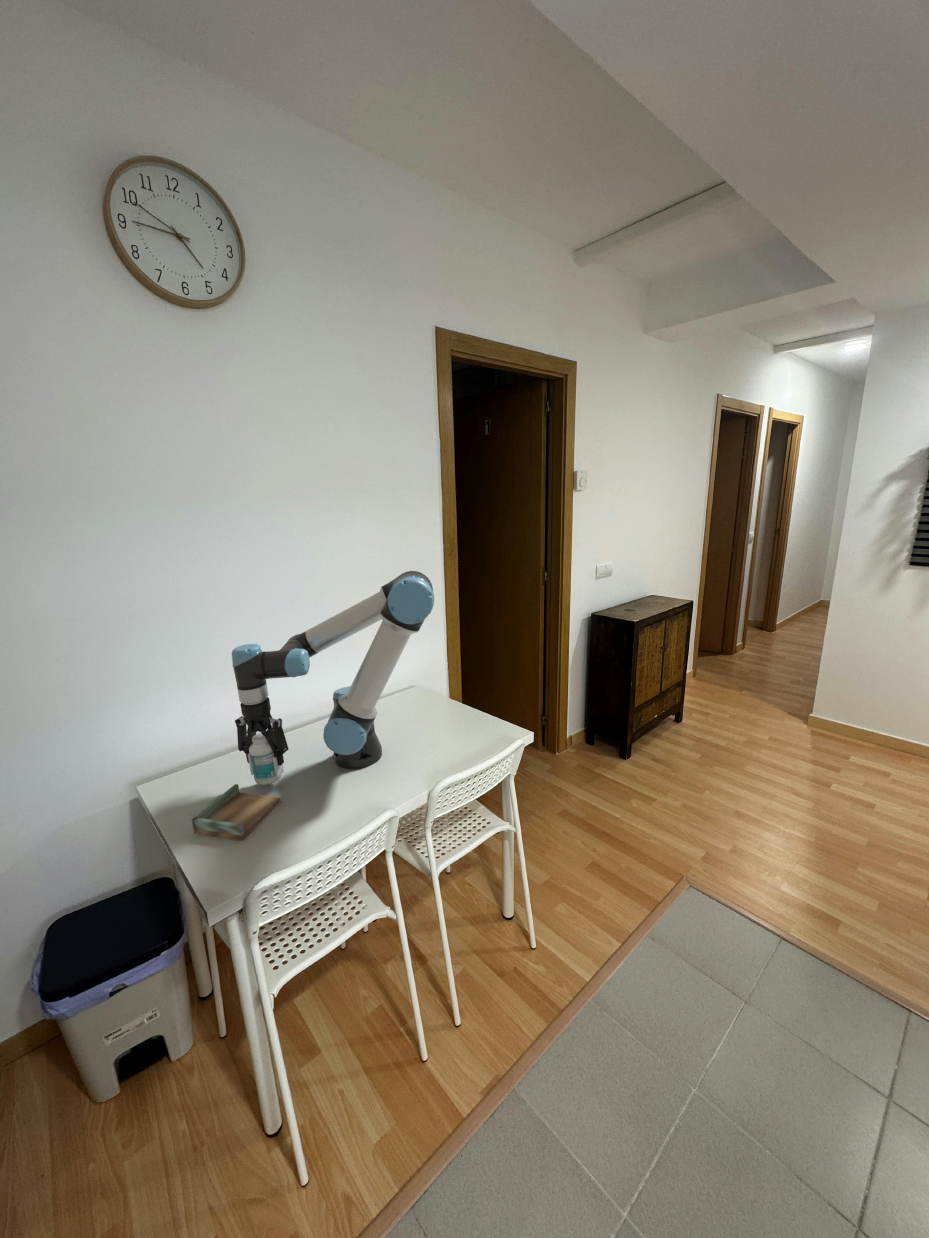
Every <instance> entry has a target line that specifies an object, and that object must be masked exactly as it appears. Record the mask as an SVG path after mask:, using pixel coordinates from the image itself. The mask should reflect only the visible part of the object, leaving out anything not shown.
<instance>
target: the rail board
mask: <svg viewBox="0 0 929 1238" xmlns="http://www.w3.org/2000/svg"><path fill="white" fill-rule="evenodd" d="M281 803H282V801H281V797H279V796H270V795H263V794H261V795H260V794H254V793H247V792H240V787H239V784H237V783H234V784H233V785H231V787H230V788H228V789H227V790H226V791H225V792H224V793H223V794H221V795H220V796H218V798H216V799H215V800H214V801H212V802H211V803H209V805H208V806H207V807H205V808H204V809H202V810H201V811H200V812H199V813H198V814H197V815H195V816H193V818H192V819H191V823H192V828H193V833H194V834H195V835H200V836H201V835H202V836H207V837H208V836H209V837H214V838H219V839H220V838H221V839H227V840H234V841H240V842H243V841H244V840H245V839H246V838H247V837H248V836H249V835H250V834H251V833H252V832H253V831H254V830H255V829H256V828H257V827H258V826H259V825H260V824H261V823H262V822H263V821H264V820H265V819H266V818H267V817H268V816H269V815H270V814H271V813H272V812H273V811H274V810H276V808H278V806H279V805H280V804H281Z"/></svg>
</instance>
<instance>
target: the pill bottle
mask: <svg viewBox="0 0 929 1238" xmlns="http://www.w3.org/2000/svg"><path fill="white" fill-rule="evenodd" d="M252 741H253V744H252V745H251V746H250V748H249V754H250V759H251V764H252V769H253V775H252V776H253V778H254V782H255V783H256V784H258V785H269V784H273V783H275V782H276V781H278V780H279V779H280V778H281V776H282V774H281V775H280V776H279V777H276V774H275V768H274V763H273V757H272V756H273V755H275V754H274V752H273V751H272V749H271V747H270V745H269V743H268V741H267V739H266V738H265V736H263V735H262V733H261V732H258V733H256V735H254V736H253V737H252Z"/></svg>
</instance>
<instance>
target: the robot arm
mask: <svg viewBox="0 0 929 1238" xmlns="http://www.w3.org/2000/svg"><path fill="white" fill-rule="evenodd" d="M434 605H435V594H434V589H433V584H432V582H431V580H430V578H429V577H428V576H426V574H424V573H422V572H420V571H417V570H409V571H405V572H402V573H401V574H399V575H397V576H396V577H395V578H394V579H392V580H390V581H389V582H387V583H386V584H384V585H382V586H380V590H379V591H378V592H377V593H375V594H373V595H370V596H369V597H367V598H365V599H363V600H361V601H359V602H357V603H355V604H354V605H351V606H350V607H348V608H346V609H344V610H342V611H341V612H340V611H339V613H337V614H335V615H333V616H331V617H329V618H327V619H326V620H324V621H322V622H321V623H318V624H317V625H315V626H313V627H311V628H309V629H307V630H305V631H303V632H301V633H298V634H294V635H292V636H291V637H289V639H288V640H287V641H286V643H285V644H284V645H283V646H282V647H281V648H280V649H278V650H271V651H267V650H266V651H263V650H262V648H261V646H260V645H259V644H257V643H247V644H241V645H239V646H236V647H235V648H233V649H232V651H231V658H232V659H231V661H232V668H233V672H234V677H235V682H236V687H237V695H238V699H239V702H240V711H241V715H240V717H238V718H236V719H235V720H234V723H235V725H236V731H237V732H236V733H237V734H236V735H237V749H238V751H239V752H244V754H245V757H246V762H247V764H248V765H249V770H250V775H252V776H254V775H253V769H252V764H251V759H250V754H249V748H250V746H251V745H252V744H253V741H252V737H253V736H254V735H256V734H257V732H258V733H262V735H263V736H265V738H266V739H267V741H268V743H269V745H270V747H271V749H272V751H273V752H274V754H275V755H273V756H272V757H273V763H274V768H275V774H276V777H279V776H280V775H281V776H282V774H284V773H285V771H284V765H283V764H284V763H285V760H284V759H285V758H284V754H285V753H286V752H288V751H289V745H288V742H287V739H286V735H285V732H284V730H283V719H282V718H278V719H276V718H273V716H272V713H271V711H272V709H271V701H270V697H269V689H268V685H267V684H268V683H267V680H268V679H269V680H270V679H282V678H297V677H303V676H306V675H307V674H308V673H309V671H310V666H311V665H310V658H311V657H313V656H315V655H317V654H319V653H320V652H322V651H324V650H326V649H329V648H330V647H331V646H334V645H337V644H338V643H340V642H342V641H343V640H345V639H347V638H349V637H351V636H353V635H355V634H357V633H358V632H360V631H362V630H364V629H366V628H368V627H370V626H372V625H374V624H376V623H377V622H379V621H381V623H380V625H379V627H378V630H377V631H376V634H375V635H374V638H373V640H372V641H371V644H370V645H369V648H368V650H367V652H366V654H365V656H364V659H362V662H361V665H360V667H359V669H358V671H357V672H356V674H355V676H354V679H353V681H352V682H351V684H350V685H351V686H344V687H340V688H338V689H335V691H334V692H333V694H332V701H333V709H332V711H331V713H330V715H329V718H328V720H327V723H326V724H325V725H324V728H323V734H322V735H323V741H324V743H325V745H326V747H327V748H328V749H329V750H330V751H332V752H333V762H334V764H335V765H337V766H338V767H341V768H343V769H360V768H365V767H368V766H371V765H373V764H375V763H377V762H378V761H379V760H380V759H381V758H382V755H383V747H382V744H381V742H380V739H379V737H378V735H377V733H376V730H375V719H376V717H377V716H378V711H377V708H376V706H377V704H378V702H379V699H380V697H381V695H382V693H383V692H384V689H385V687H386V685H387V683H388V682H389V679H390V677H391V675H392V673H393V671H394V670H395V667H396V665H397V664H398V661H399V660H400V657H401V655H402V654H403V652H404V649H405V647H406V646H407V644H408V642H409V639H410V637H411V635H412V634H417V633H418V632H420V630H421V627H422V626H423V624H424V621H425V620H426V619H427V618H428V617H429V616H430V614H431V613H432V610H433V608H434Z"/></svg>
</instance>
